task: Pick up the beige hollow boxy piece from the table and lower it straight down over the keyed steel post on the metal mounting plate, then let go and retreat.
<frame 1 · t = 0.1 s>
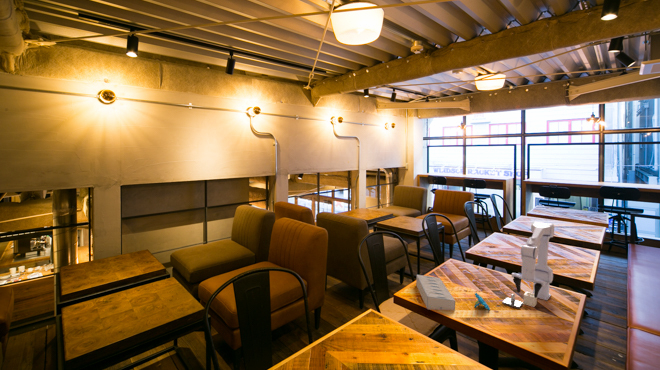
hand: (527, 294, 153), 10 cm above the table, fingers open, 7 cm apart
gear: (481, 308, 160), on the table
shaft block: (512, 303, 164), on the table
beige hollow boxy piece: (529, 303, 163), on the table
warehouse: (433, 297, 173), on the table
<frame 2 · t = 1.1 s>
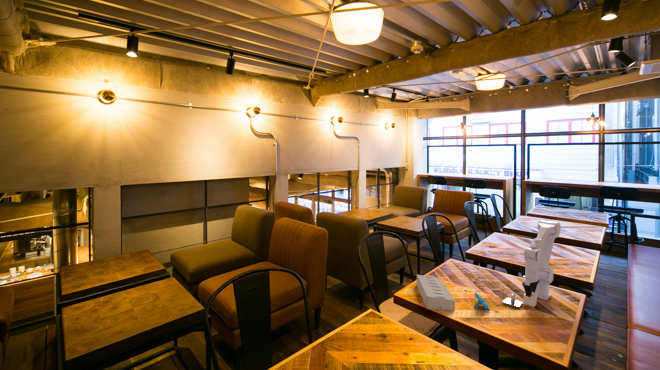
hand: (530, 294, 163), 6 cm above the table, fingers open, 7 cm apart
nothing on the table moved.
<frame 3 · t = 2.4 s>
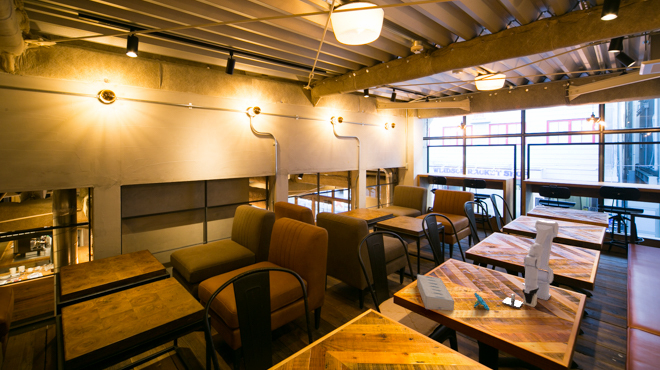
hand: (530, 301, 163), 1 cm above the table, fingers closed on beige hollow boxy piece, 5 cm apart
beige hollow boxy piece: (529, 303, 163), on the table, touching gripper
everything else where it was.
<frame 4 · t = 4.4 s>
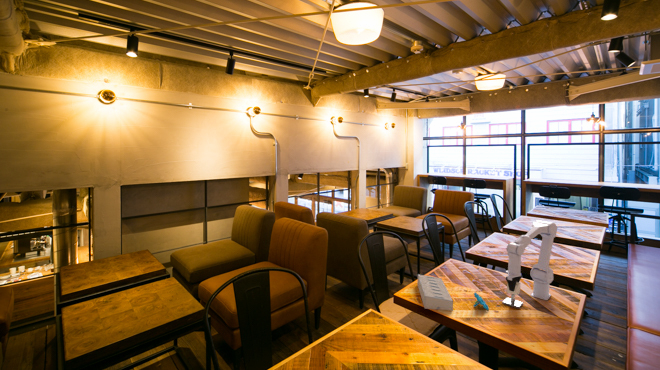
hand: (513, 289, 163), 8 cm above the table, fingers closed on beige hollow boxy piece, 5 cm apart
beige hollow boxy piece: (513, 292, 163), point 7 cm above the table, touching gripper
everything else where it was.
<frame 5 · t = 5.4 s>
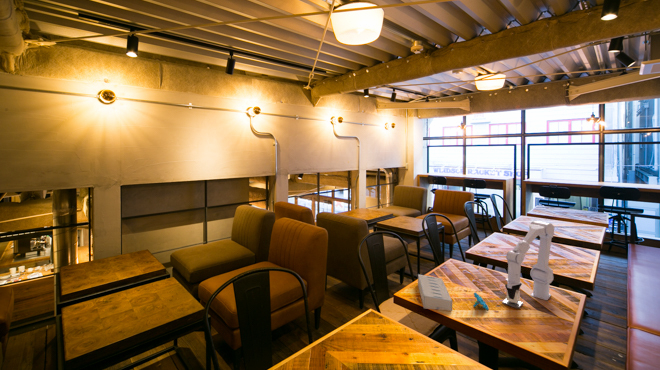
hand: (513, 296, 163), 4 cm above the table, fingers closed on beige hollow boxy piece, 5 cm apart
beige hollow boxy piece: (513, 300, 164), point 2 cm above the table, touching gripper
everything else where it was.
when the fingers open (4 cm above the table, at t = 6.2 s): beige hollow boxy piece drops 1 cm, resting on shaft block.
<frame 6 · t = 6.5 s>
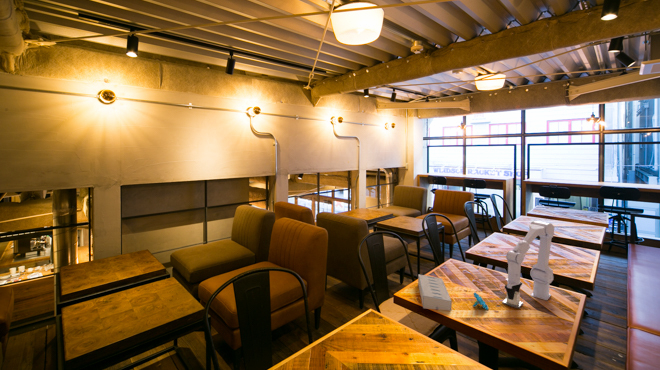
hand: (513, 296, 163), 4 cm above the table, fingers open, 7 cm apart
beige hollow boxy piece: (512, 302, 164), point 1 cm above the table, touching shaft block
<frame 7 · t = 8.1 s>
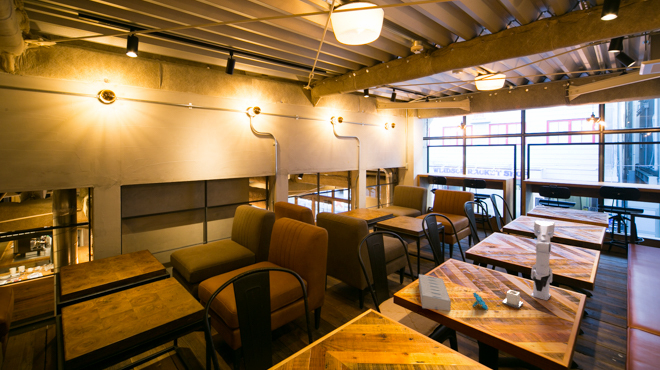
hand: (541, 288, 160), 10 cm above the table, fingers open, 7 cm apart
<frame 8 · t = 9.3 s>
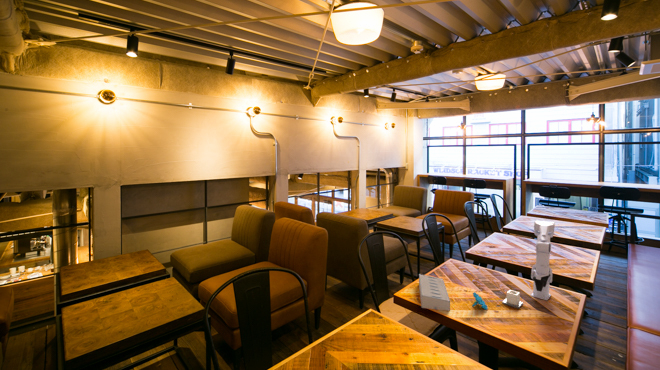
hand: (541, 288, 160), 10 cm above the table, fingers open, 7 cm apart
at the end: beige hollow boxy piece 0.1 cm off-centre on the shaft block, point 1.0 cm above the shaft block's base; beige hollow boxy piece tilted 0°; the gripper is holding nothing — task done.
